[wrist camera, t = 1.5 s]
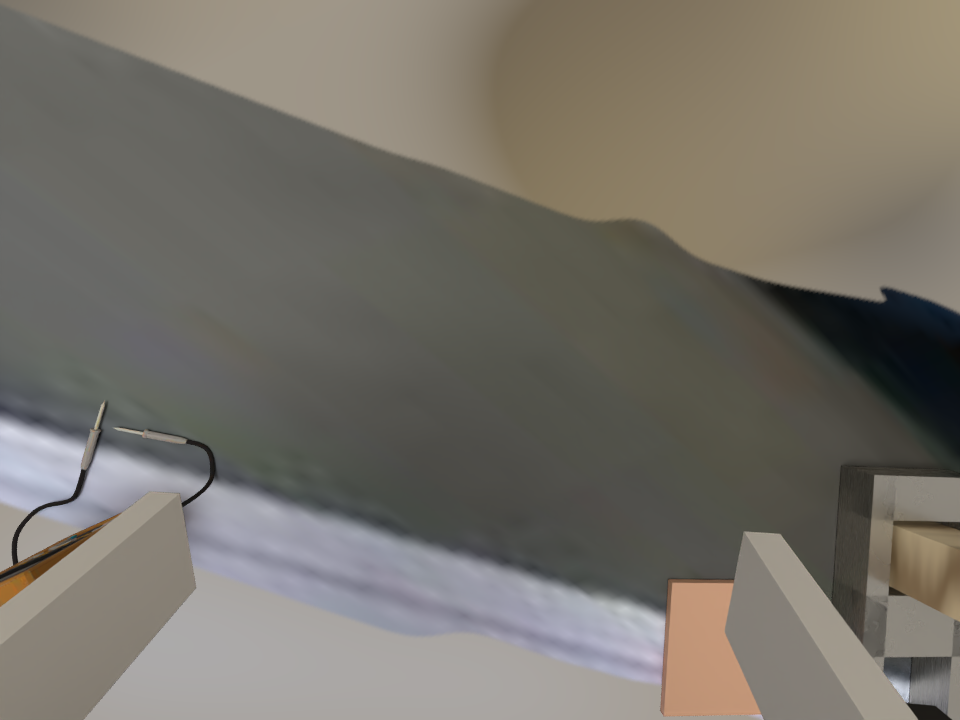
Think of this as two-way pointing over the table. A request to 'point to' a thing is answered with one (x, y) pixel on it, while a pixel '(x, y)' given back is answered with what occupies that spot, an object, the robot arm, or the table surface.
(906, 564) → the peg
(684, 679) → the pad
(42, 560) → the multimeter
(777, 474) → the table surface
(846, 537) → the rail
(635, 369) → the table surface
